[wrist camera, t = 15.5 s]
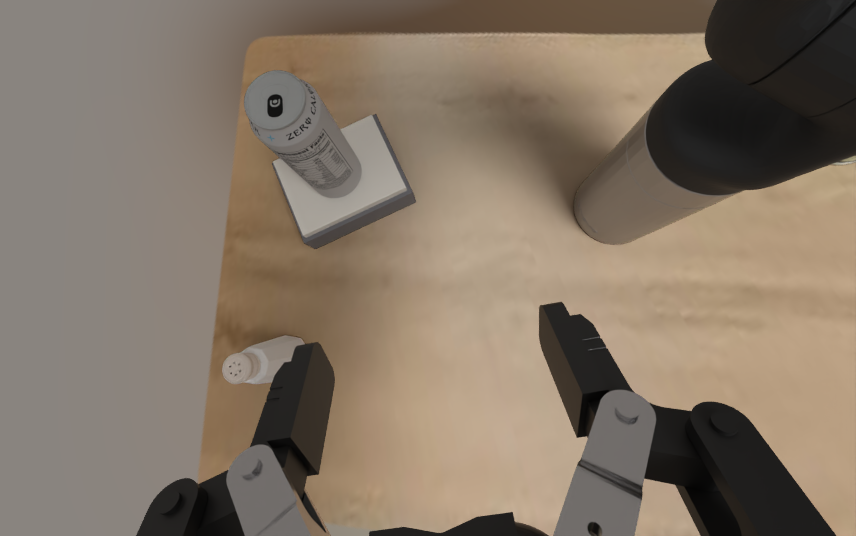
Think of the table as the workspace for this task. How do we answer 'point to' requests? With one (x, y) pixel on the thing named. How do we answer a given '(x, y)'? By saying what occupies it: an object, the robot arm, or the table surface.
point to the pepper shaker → (260, 361)
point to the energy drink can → (302, 132)
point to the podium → (366, 204)
